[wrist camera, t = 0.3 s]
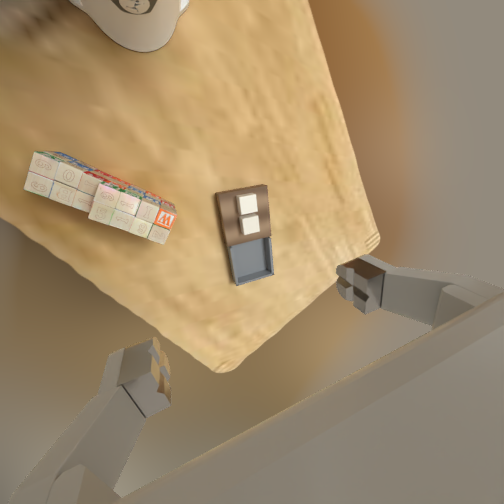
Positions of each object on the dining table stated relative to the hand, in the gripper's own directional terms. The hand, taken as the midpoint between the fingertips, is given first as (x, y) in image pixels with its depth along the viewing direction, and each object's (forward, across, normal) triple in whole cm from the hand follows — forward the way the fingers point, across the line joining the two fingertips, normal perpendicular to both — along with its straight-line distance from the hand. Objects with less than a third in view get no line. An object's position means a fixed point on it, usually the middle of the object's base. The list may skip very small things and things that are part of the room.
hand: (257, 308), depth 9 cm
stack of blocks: (+46, +13, -2) cm, 48 cm away
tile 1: (+43, -13, +11) cm, 46 cm away
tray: (+46, -12, +22) cm, 52 cm away
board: (+46, -13, +10) cm, 49 cm away
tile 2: (+43, -13, +6) cm, 45 cm away
